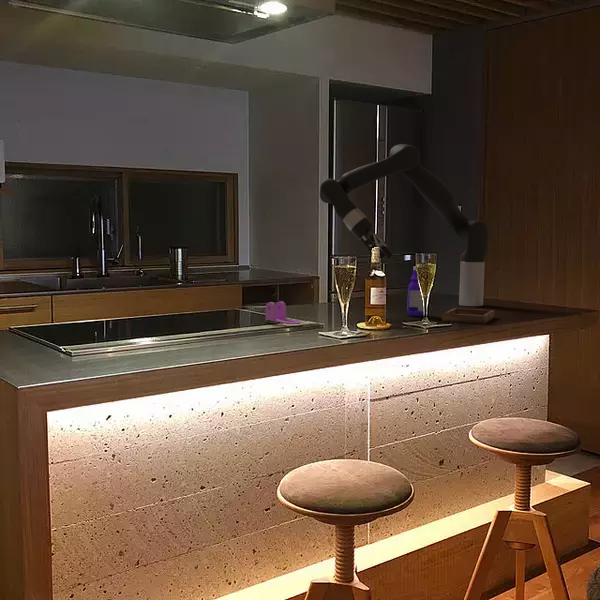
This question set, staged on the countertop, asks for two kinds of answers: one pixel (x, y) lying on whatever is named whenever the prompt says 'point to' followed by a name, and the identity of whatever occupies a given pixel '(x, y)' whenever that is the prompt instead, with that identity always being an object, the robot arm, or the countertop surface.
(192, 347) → the countertop surface
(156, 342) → the countertop surface
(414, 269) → the bottle
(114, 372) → the countertop surface
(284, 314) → the bracket
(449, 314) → the walnut tray
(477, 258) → the robot arm
